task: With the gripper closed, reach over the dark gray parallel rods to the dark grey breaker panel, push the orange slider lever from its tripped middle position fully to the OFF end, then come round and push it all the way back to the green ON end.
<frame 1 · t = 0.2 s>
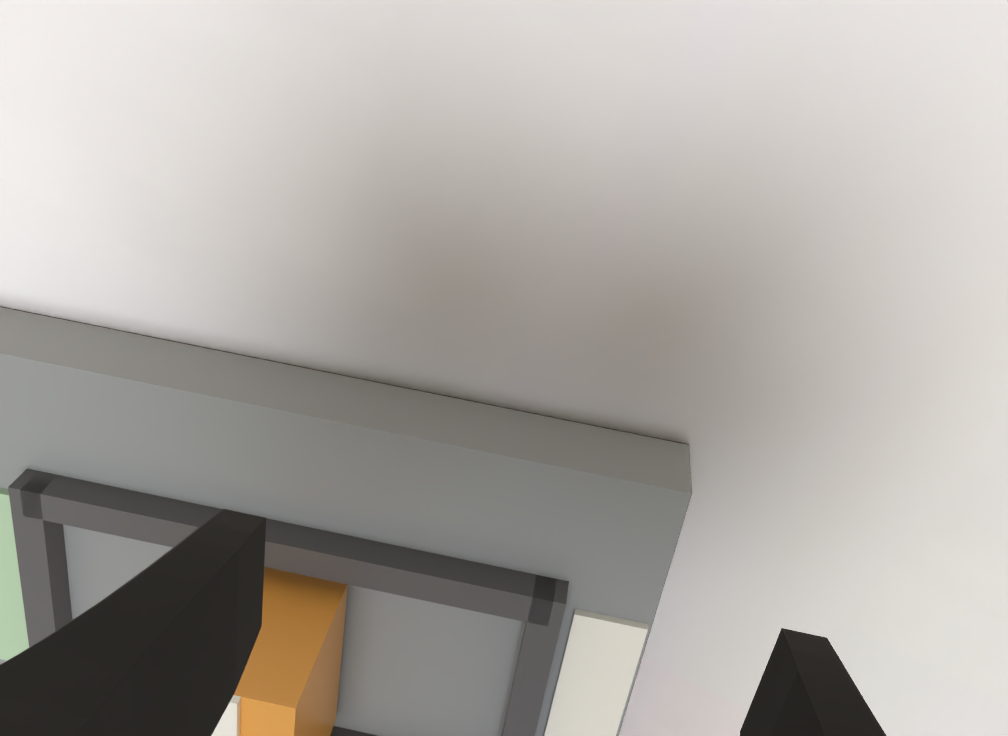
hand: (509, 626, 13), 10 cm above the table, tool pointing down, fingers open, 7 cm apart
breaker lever: (256, 705, 23), point 4 cm above the table, slide at 0.0 cm
breaker panel: (312, 586, 27), on the table
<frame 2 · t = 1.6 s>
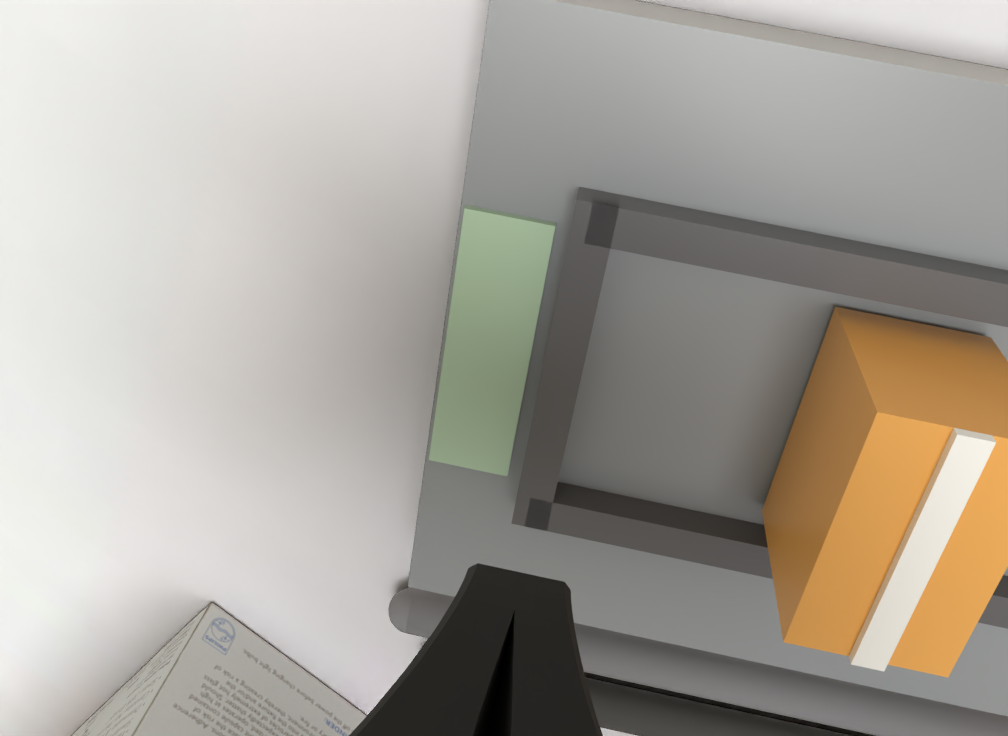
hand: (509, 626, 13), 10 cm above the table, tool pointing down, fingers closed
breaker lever: (891, 489, 18), point 4 cm above the table, slide at 0.0 cm
light bulb box: (208, 733, 31), on the table
dark gray parallel rods: (756, 721, 27), on the table
breaker panel: (849, 378, 22), on the table
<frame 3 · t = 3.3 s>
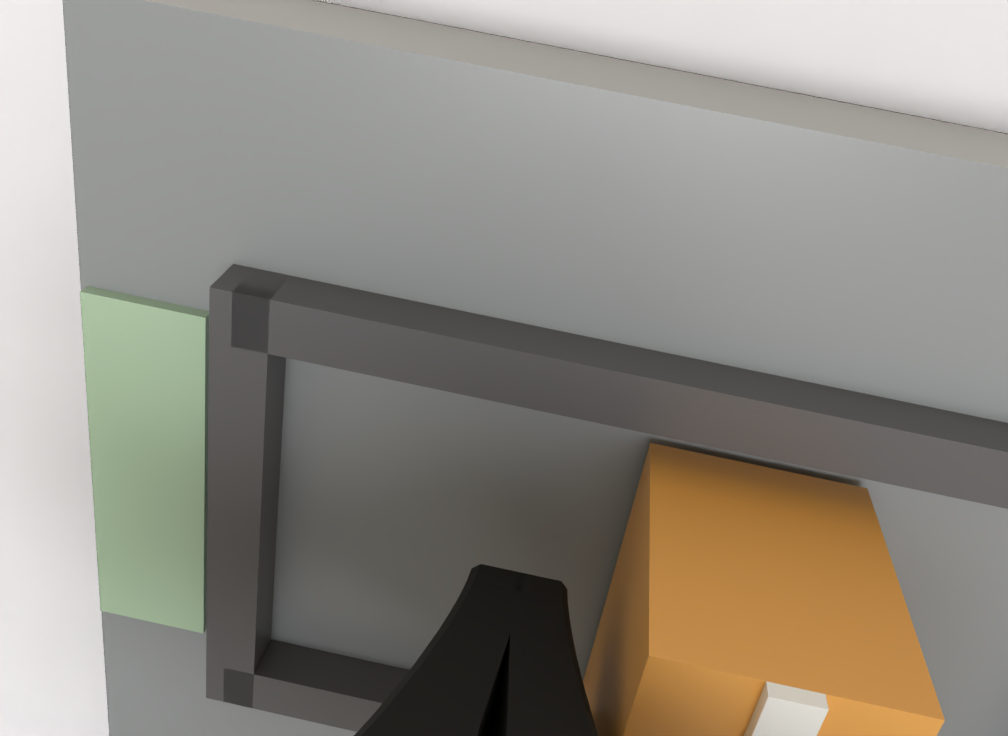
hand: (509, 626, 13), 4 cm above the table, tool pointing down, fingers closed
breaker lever: (718, 710, 13), point 4 cm above the table, slide at -0.7 cm, touching gripper
breaker panel: (661, 503, 16), on the table
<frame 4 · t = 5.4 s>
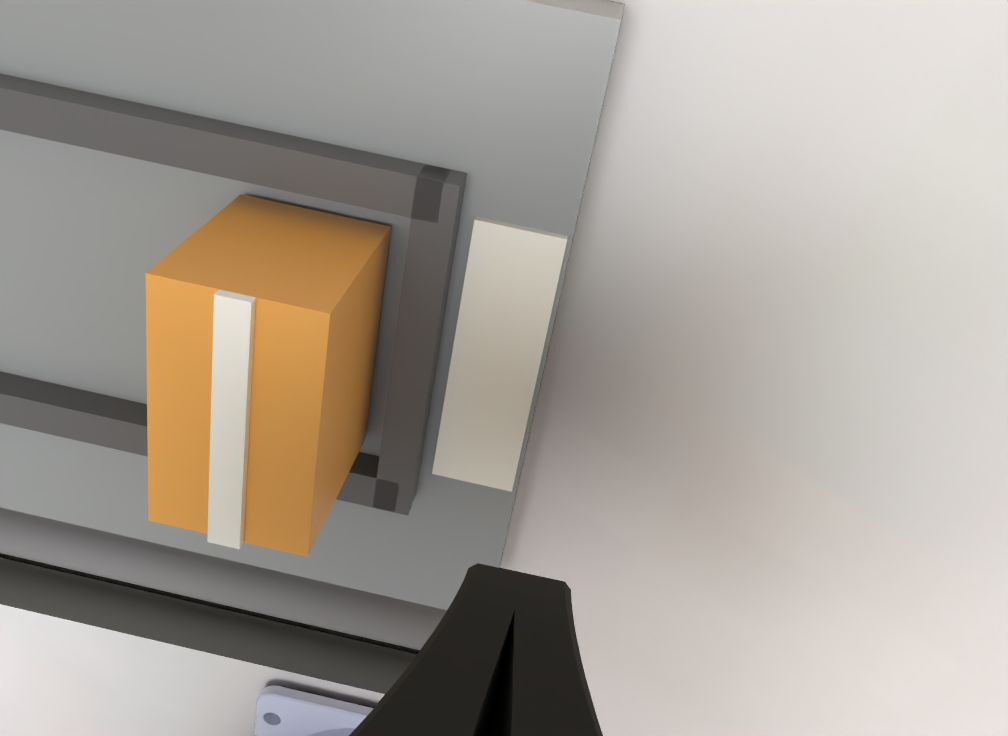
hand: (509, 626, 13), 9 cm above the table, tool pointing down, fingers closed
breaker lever: (271, 372, 18), point 4 cm above the table, slide at -4.0 cm
dark gray parallel rods: (199, 610, 27), on the table
breaker panel: (165, 244, 22), on the table
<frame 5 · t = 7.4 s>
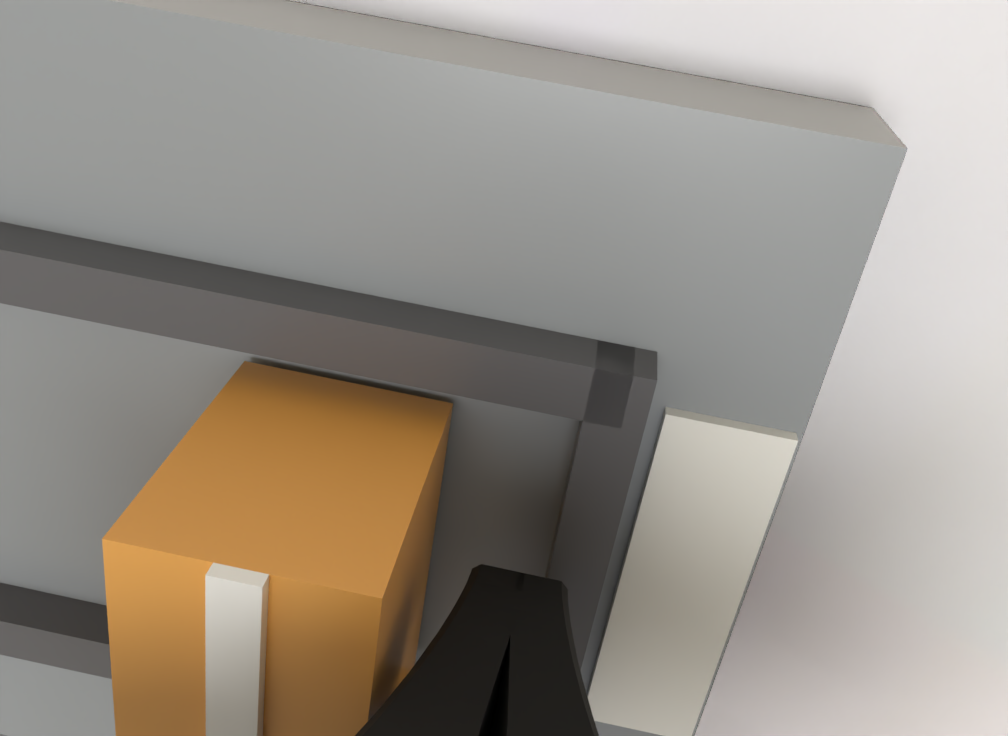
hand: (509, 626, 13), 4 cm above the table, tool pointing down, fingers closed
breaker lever: (291, 618, 13), point 4 cm above the table, slide at -2.7 cm, touching gripper
breaker panel: (220, 412, 17), on the table
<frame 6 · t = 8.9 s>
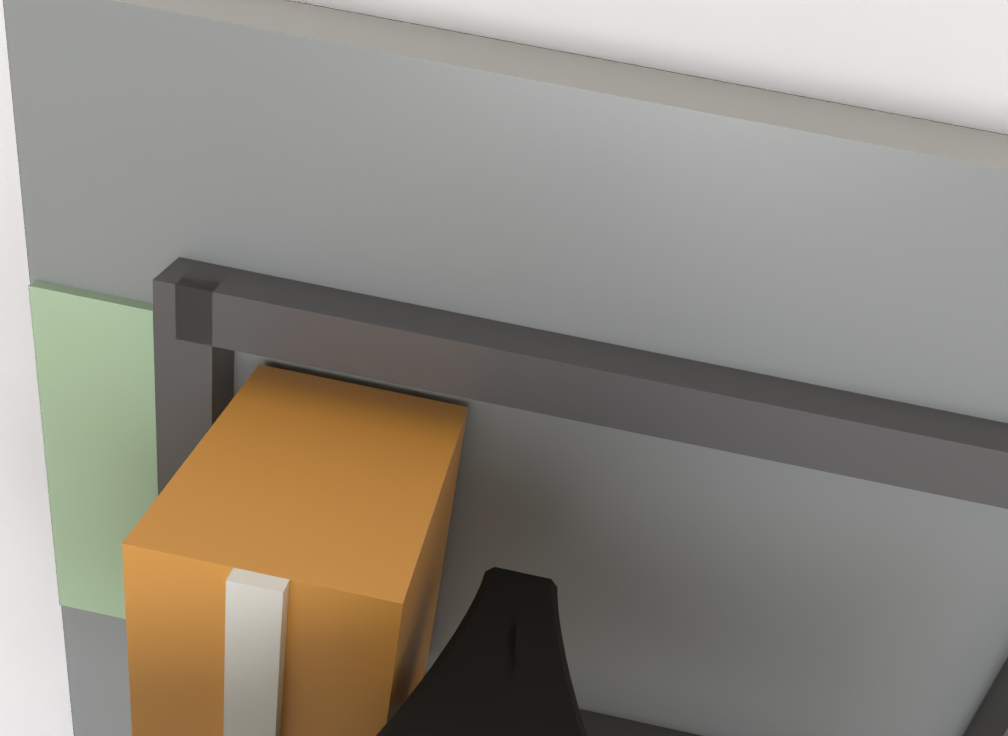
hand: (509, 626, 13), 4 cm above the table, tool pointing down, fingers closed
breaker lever: (306, 621, 13), point 4 cm above the table, slide at 4.1 cm, touching gripper
breaker panel: (617, 495, 16), on the table
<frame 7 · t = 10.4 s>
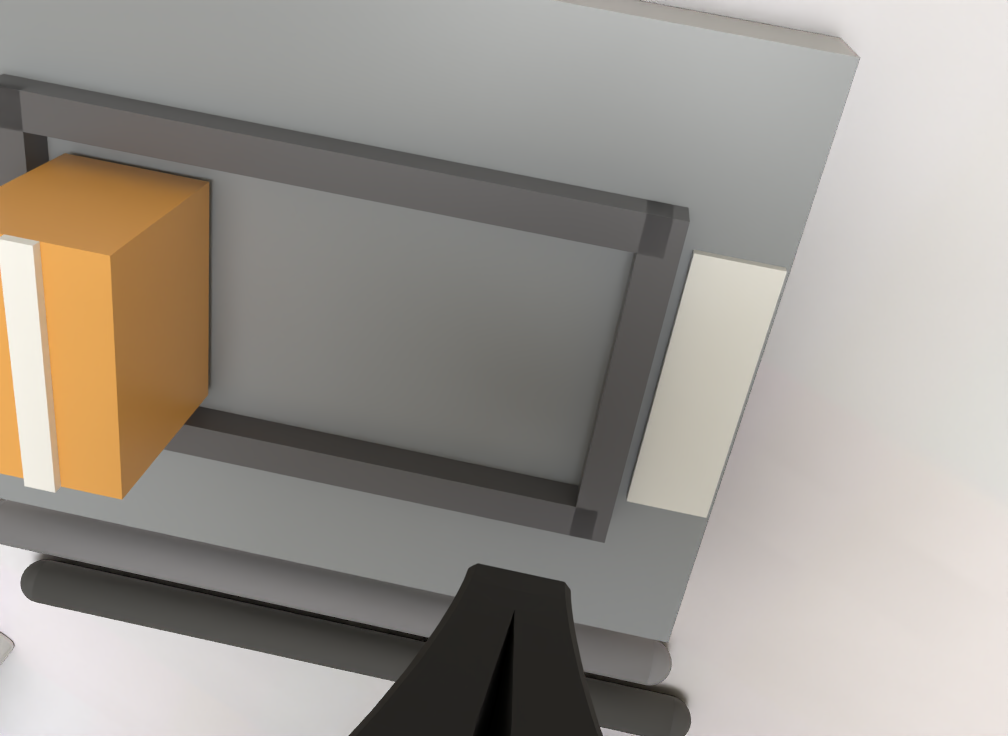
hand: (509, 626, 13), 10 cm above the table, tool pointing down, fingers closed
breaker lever: (89, 323, 19), point 4 cm above the table, slide at 4.0 cm
dark gray parallel rods: (357, 633, 27), on the table
breaker panel: (353, 277, 22), on the table
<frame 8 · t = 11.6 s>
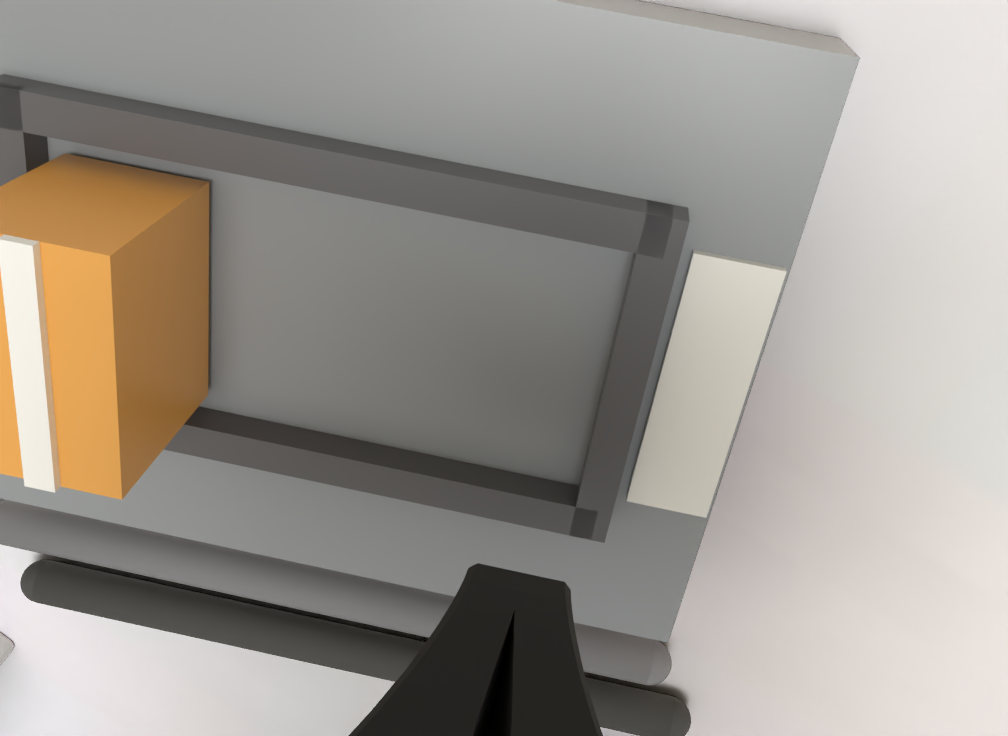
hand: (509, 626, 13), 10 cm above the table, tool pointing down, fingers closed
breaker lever: (89, 323, 19), point 4 cm above the table, slide at 4.0 cm
dark gray parallel rods: (357, 633, 27), on the table
breaker panel: (353, 277, 22), on the table
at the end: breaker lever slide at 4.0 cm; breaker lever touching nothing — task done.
